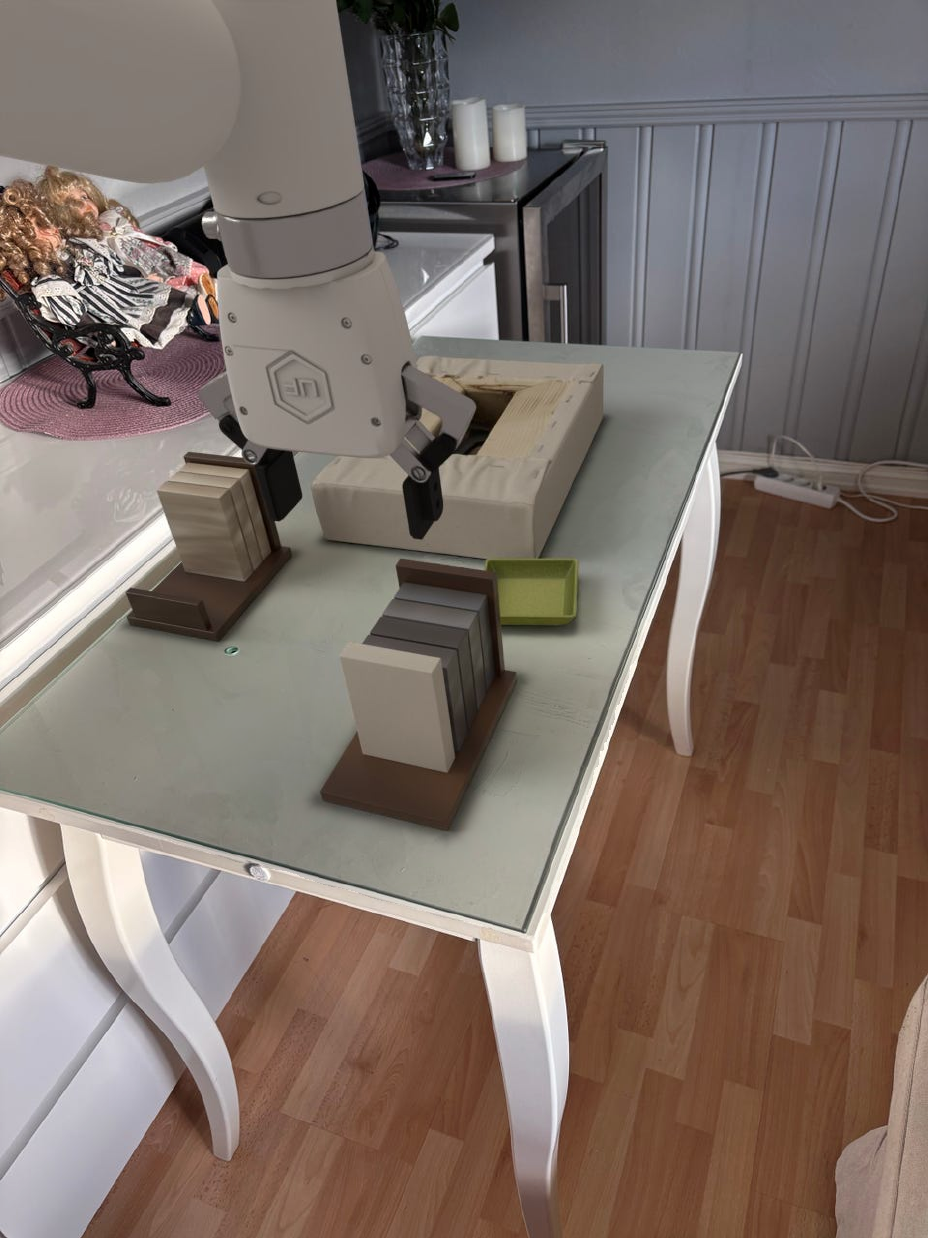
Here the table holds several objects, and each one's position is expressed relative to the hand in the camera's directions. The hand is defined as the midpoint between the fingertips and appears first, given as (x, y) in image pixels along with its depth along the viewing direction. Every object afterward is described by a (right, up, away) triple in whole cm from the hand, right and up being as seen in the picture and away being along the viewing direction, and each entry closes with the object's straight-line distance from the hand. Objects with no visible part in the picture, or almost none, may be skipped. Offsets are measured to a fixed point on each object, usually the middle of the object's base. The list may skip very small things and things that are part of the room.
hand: (354, 518), depth 57 cm
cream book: (+3, -17, +11) cm, 20 cm away
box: (+8, +10, +45) cm, 47 cm away
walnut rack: (+4, -16, +14) cm, 21 cm away
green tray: (+13, -5, +26) cm, 29 cm away
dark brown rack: (-18, -3, +32) cm, 37 cm away
